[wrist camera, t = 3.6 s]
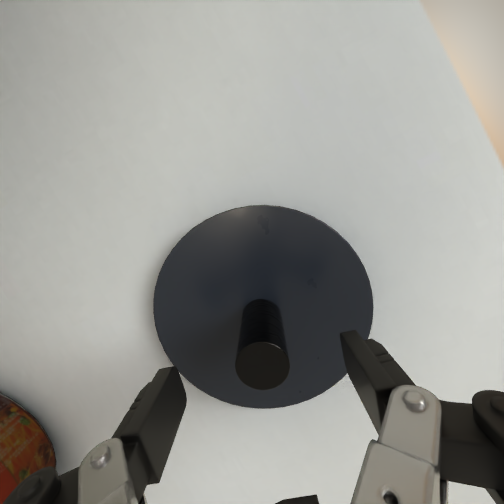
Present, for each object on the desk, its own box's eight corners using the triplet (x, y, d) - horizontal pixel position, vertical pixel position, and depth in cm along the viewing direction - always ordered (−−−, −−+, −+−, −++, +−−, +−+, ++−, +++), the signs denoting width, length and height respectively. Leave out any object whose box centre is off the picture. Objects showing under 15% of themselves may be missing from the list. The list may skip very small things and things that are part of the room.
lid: (347, 179, 16) (403, 169, 10) (379, 376, 19) (436, 463, 13) (131, 233, 17) (59, 255, 11) (193, 410, 20) (164, 504, 14)
